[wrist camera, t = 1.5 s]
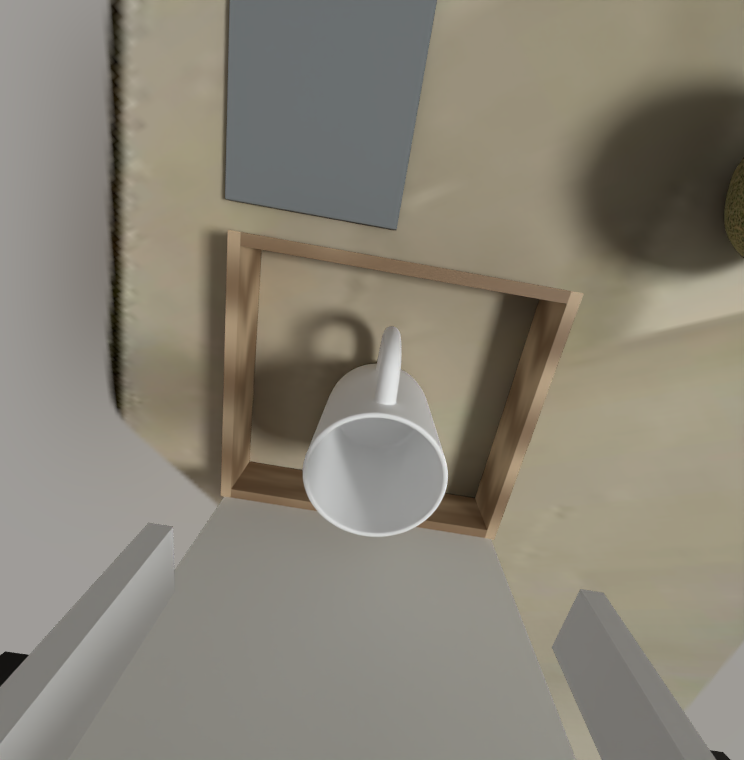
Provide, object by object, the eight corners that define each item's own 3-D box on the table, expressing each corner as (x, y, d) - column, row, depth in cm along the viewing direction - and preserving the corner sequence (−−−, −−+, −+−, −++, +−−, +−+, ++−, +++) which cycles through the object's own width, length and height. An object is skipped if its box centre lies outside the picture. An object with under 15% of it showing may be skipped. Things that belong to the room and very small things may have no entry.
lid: (243, 468, 31) (-122, 1006, 9) (477, 506, 32) (709, 1104, 9) (242, 495, 32) (-88, 1041, 10) (469, 532, 33) (659, 1129, 10)
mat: (237, -119, 19) (232, -131, 18) (449, -76, 19) (452, -86, 19) (228, 200, 24) (225, 198, 24) (396, 230, 24) (396, 229, 24)
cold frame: (251, 234, 25) (227, 229, 21) (554, 288, 25) (583, 293, 22) (240, 467, 31) (220, 495, 28) (481, 506, 32) (494, 539, 28)
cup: (324, 443, 30) (297, 528, 21) (338, 307, 26) (313, 334, 17) (417, 456, 30) (432, 545, 21) (444, 322, 27) (479, 357, 17)
